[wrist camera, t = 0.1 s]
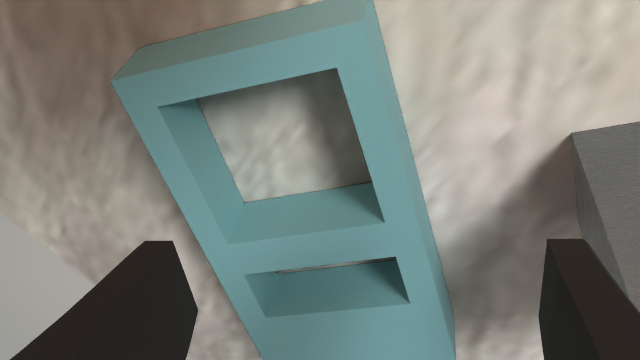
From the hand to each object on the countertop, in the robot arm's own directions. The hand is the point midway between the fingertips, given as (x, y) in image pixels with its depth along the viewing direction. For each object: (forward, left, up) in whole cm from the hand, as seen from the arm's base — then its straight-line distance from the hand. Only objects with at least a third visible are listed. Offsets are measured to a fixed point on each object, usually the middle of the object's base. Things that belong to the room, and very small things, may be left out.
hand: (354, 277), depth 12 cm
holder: (-5, +4, -10) cm, 12 cm away
